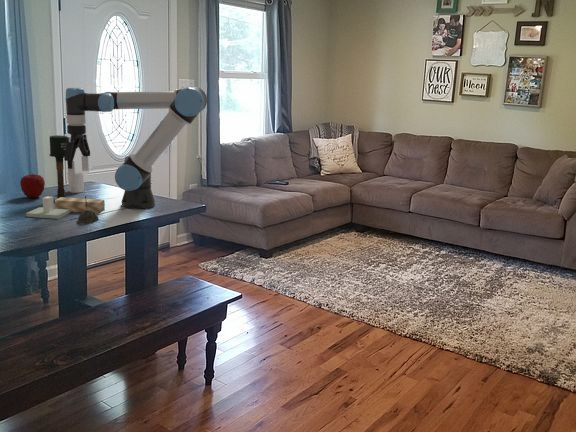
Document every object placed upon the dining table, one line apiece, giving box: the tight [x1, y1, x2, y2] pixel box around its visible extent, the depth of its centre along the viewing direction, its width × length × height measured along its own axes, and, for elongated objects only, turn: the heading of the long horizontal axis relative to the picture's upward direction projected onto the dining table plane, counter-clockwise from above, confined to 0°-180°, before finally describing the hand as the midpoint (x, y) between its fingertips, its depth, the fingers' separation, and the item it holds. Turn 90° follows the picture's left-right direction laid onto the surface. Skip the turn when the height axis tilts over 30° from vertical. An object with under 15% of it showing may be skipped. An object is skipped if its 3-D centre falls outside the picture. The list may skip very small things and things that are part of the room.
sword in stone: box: [77, 195, 99, 225], centre depth 246 cm, size 10×8×12 cm
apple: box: [19, 173, 45, 199], centre depth 282 cm, size 11×11×12 cm
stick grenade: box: [49, 135, 68, 199], centre depth 278 cm, size 8×9×30 cm
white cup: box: [66, 170, 85, 194], centre depth 299 cm, size 8×8×10 cm
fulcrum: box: [25, 195, 71, 220], centre depth 253 cm, size 14×11×8 cm
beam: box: [54, 197, 106, 214], centre depth 263 cm, size 20×6×5 cm, turn 87°
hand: (78, 173), depth 260 cm, fingers open, 13 cm apart
